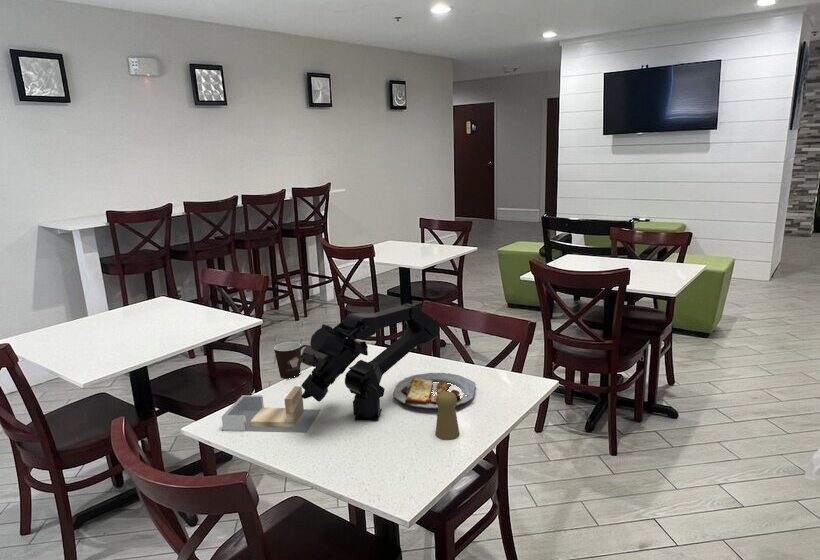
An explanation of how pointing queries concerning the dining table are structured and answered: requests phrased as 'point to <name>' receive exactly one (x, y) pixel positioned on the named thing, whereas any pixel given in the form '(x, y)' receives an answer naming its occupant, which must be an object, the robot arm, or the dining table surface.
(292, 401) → the menu stand
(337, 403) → the dining table surface
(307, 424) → the rubber mat
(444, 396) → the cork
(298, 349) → the coffee mug
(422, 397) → the food plate
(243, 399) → the frame
